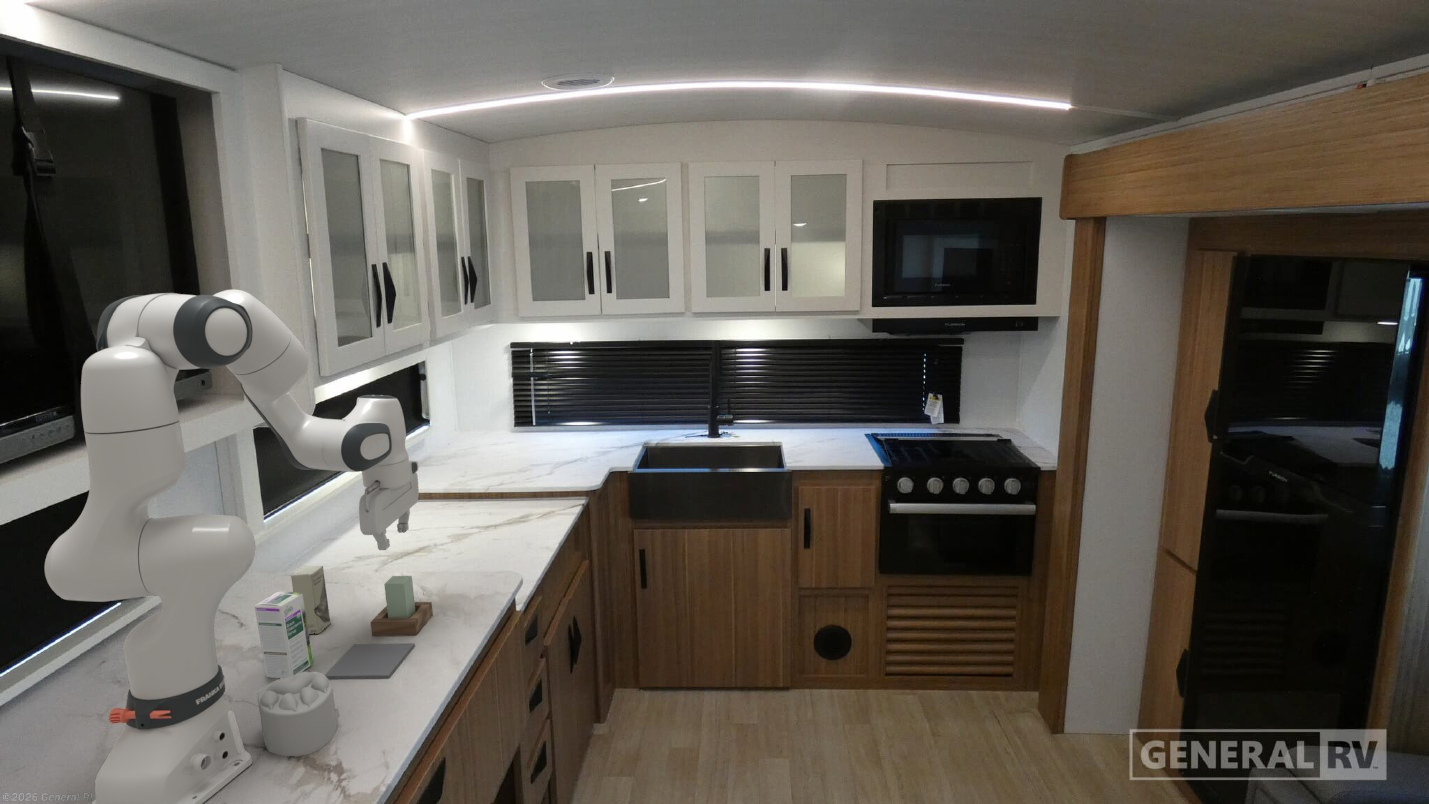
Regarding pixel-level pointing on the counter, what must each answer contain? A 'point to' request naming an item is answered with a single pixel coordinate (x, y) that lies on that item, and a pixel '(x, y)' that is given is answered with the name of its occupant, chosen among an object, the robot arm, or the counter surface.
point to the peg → (400, 597)
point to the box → (313, 596)
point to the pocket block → (402, 622)
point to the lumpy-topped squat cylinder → (297, 714)
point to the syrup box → (284, 634)
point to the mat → (370, 661)
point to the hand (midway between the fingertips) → (394, 540)
